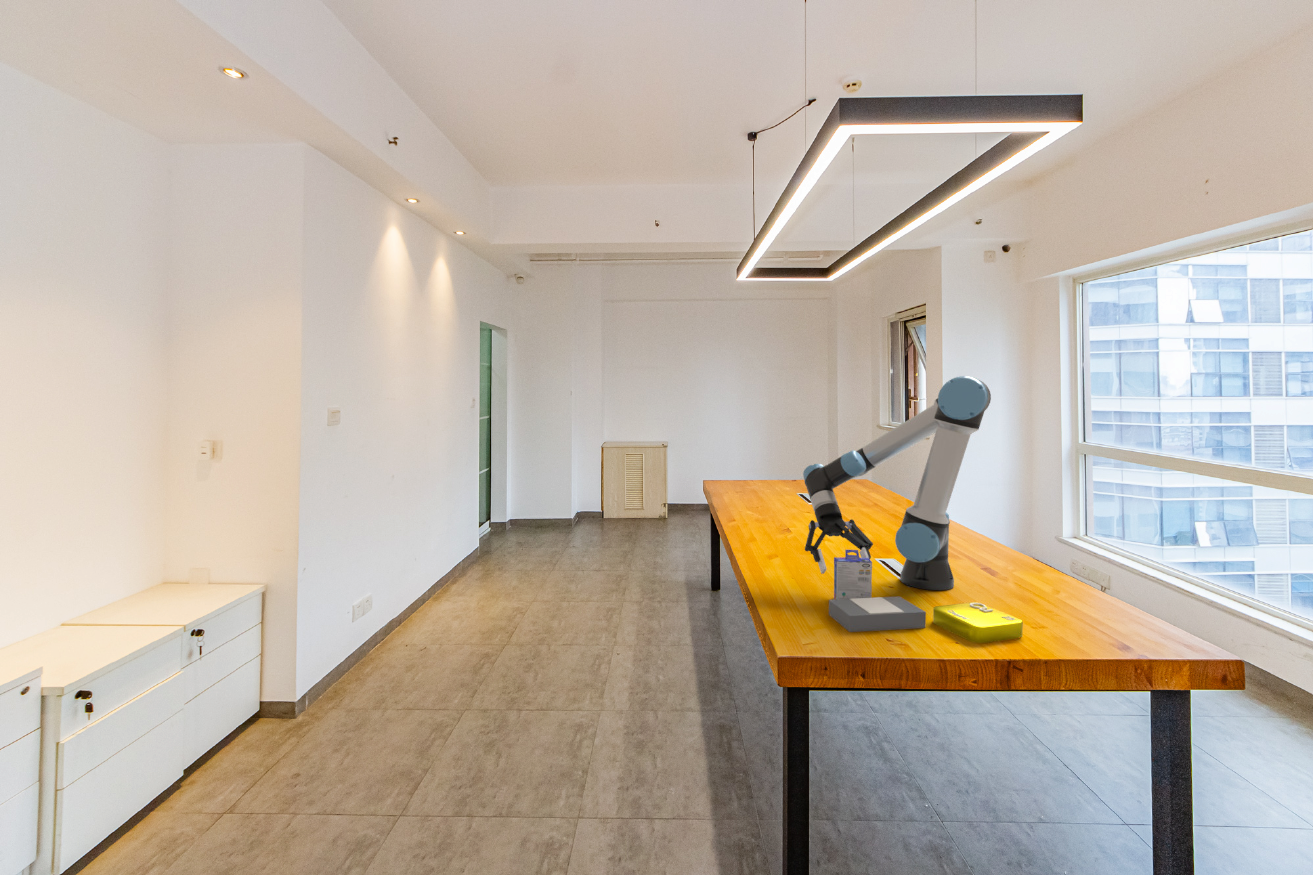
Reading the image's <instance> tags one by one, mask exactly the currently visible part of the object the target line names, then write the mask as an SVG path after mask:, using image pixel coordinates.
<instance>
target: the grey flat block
mask: <svg viewBox="0 0 1313 875" xmlns="http://www.w3.org/2000/svg"><path fill="white" fill-rule="evenodd" d="M926 613H927V612H926V611H925V610H923V609H921V608H919V606H916V605H914V604H913V603H911V602H910V601H908V600H907V599H904V598H903V597H902V596H884V597H883V596H882V597H881V596H878V597H877V596H876V597H871V598H855V599H836V600H834V599H829V600H828V616H830V617H831V618H832V619H833V620H834V621H836V622H837V623H838V624H839V625H841V627H843V628H844V629H846V630H847V631H848V632H849V633H854V632H855V633H857V632H873V631H876V632H877V631H890V630H891V631H893V630H906V629H907V630H909V629H912V630H913V629H925V628H926V624H927V623H926V620H927V619H926V618H927V617H926V616H927V614H926Z"/></svg>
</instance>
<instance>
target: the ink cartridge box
mask: <svg viewBox="0 0 1313 875" xmlns="http://www.w3.org/2000/svg"><path fill="white" fill-rule="evenodd" d="M844 553H845V554H844V555H845V557H840V556H839V557H836V556H835V557H833V565H834V566H833V571H834V572H833V574H834V575H833V600H836V599H855V598H872V587H873V586H872V585H873V584H872V578H873V577H872V574H873V562H872V560H871V558H870V559H869V558H861V557H860V552H859V549H845V552H844ZM849 553H854V554H849ZM855 554H856V555H855Z"/></svg>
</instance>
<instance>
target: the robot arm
mask: <svg viewBox="0 0 1313 875" xmlns="http://www.w3.org/2000/svg"><path fill="white" fill-rule="evenodd" d="M991 396H992V395H991V391H990V389H989V387H988V386H987V384H986V383H984V382H983V381H982V380H980V379H978V378H975V377H972V376H969V375H968V376H965V375H959V376H956V377H954V378H950V379H949V380H948V381H946V382H945V383H944V384H943V385H942V387H941V388H940V390H939V391H938V395H937V398H936V399H935V400H934V402H933V405H931V406H929V407H927V408H926V409H924V410H922V411H921V412H919V413H918V414H916V415H914V416H912V417H911V418H910V419H907V420H906V421H904V422H902V423H900V424H899V425H898V426H896V427H894V428H892V429H891V430H889V431H887V432H886V433H885V434H883V435H881V436H879V437H878V438H876V439H875V440H872V441H871V442H869V443H868V444H866V445H865V446H863V447H861V448H859V449H857V450H850V451H848V452H846V453H843V454H842V455H841V456H839V457H838V458H836V459H835V460H832V461H831V462H830V463H828V464H826V465H823V464H822V463H814V464H810V465H808V466H806V467H805V468H804V470H803V473H802V474H803V480H804V484H805V485H804V486H806V487H805V488H806V490H807V492H808V496H809V500H810V502H811V503H810V504H811V505H812V508H813V512H814V516H815V518H816V521H815V520H810V522H809V524H808V534H807V539H806V542H805V546H804V551H805V552H809V553H810V554H811V555H812V556H813V560H814V562H815V563H818V564H817V565H818V567H819V571H820V573H821V575H822V574H823V575H824V574H825V573H826V571H827V565H826V562H825V558H824V555H823V552H822V550H821V548H819V547H820V545H821V543H822V542H823V540H824V538H825V537H826V536H828V537H841V538H842V539H846V540H847V541H848V542H849V543H851V544H852V545H853V546H855V547H856V548H857V549H858V550H860V551H859V556H860V558H869V559H870V560H871V558H872V556H871V553H870V550H871V548H872V547H873V545H874V542H872V541H871V539H869V538H868V535H866V534H865V533H864V532H863V531H862V530H861V529H860V527H858V526H857V524H856V522H855V520H854V519H849V521H845V520H844V519H843V515H842V511H841V509H840V507H839V504H838V500H837V497H836V495H835V491H834V489H835V488H838V487H839V486H841V485H843V484H844V483H847V482H848V481H851V480H852V479H855V478H858V477H861V476H864V475H866V474H867V473H868V472H869V471H872V470H873V469H875V468H876V467H878V466H880V465H881V464H883V463H885V462H887V461H888V460H890V459H892V458H893V457H895V456H897V455H898V454H901V453H902V452H904V451H906V450H908V449H910V448H911V447H913V446H915V445H917V444H918V443H921V442H922V441H924V440H925V439H927V438H930V437H931V436H932V435H934V437H933V441H932V444H931V447H930V451H929V453H928V456H927V460H926V463H925V467H924V470H923V473H922V475H921V476H922V477H921V480H920V483H919V486H918V489H917V493H916V496H915V500H914V502H913V504H912V505H911V506H908V507H907V508H906V509H905V513H904V517H903V518H902V522H901V525H900V527H899V528H898V529H897V531H896V532H895V538H894V540H895V541H894V543H895V547H896V550H897V551H898V552H899V554H900V555H901V556H903V557H904V558H905V561H904V563H903V567H902V569H901V572H900V582H901V583H903V584H904V585H906V586H909V587H911V588H916V589H921V590H930V591H945V590H946V591H947V590H951V589H953V588H954V586H955V579H954V575H953V573H952V569H951V565H950V562H949V539H950V523H951V521H950V516H949V515H950V514H948V512H947V510H948V507H949V505H950V504H949V503H950V501H951V498H952V493H953V492H954V491H953V490H954V488H955V484H956V481H957V479H958V475H959V471H960V469H961V465H962V462H963V459H964V456H965V453H966V450H967V447H968V444H969V441H970V437H971V435H972V434H973V433H976V432H978V431H979V429H980V427H981V424H982V420H983V417H984V414H985V412H986V410H988V408H989V406H990V403H991V400H992V397H991ZM817 528H818V529H819V530H820V531H822V532H821V533H820V534H819V537H818V538H817V540H816V541H815V543H814V544H812V543H813V540H814V535H815V532H816V529H817Z"/></svg>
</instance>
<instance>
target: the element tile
mask: <svg viewBox="0 0 1313 875" xmlns="http://www.w3.org/2000/svg"><path fill="white" fill-rule="evenodd" d="M932 611H933V612H932V613H933V614H932V623H933V624H934V625H935V626H938V627H940V628H941V629H944V630H946V631H948V632H950V633H952V634H954V635H955V636H958V637H959V638H960V637H961V638H962V639H963V640H966V641H969V642H970V643H975V644H987V643H994V642H1001V641H1009V639H1010V640H1016V639H1015V638H1018V639H1020V638H1019V637H1022V638H1023V625H1024V623H1023V620H1022V618H1021V619H1020V618H1018V617H1015V616H1013V615H1011V614H1008V613H1006V612H1003V611H1001V610H998V609H997V608H993V607H990V606H988V605H986V604H983V603H981V602H976V601H973V602H972V601H971V602H965V603H964V602H963V603H954V604H947V605H946V604H945V605H937V606H934V607H933V609H932Z"/></svg>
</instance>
